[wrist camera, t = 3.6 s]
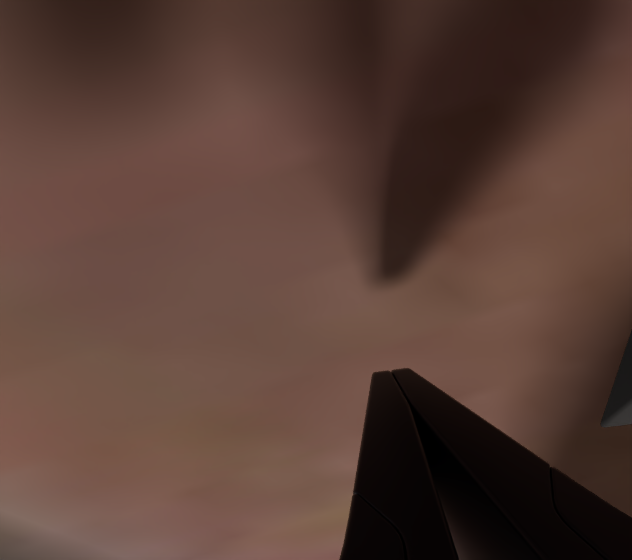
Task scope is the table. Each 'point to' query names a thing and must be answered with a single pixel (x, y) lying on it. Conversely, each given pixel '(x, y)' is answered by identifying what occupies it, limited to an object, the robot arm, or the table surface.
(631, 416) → the build plate
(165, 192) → the table surface
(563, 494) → the robot arm
